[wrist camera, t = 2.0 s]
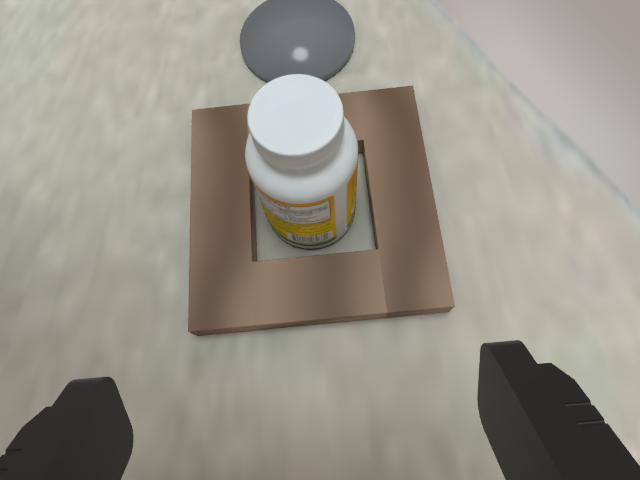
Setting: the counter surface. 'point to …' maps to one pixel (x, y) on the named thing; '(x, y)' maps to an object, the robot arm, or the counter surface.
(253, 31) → the coaster
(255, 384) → the counter surface
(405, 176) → the pocket board
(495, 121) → the counter surface
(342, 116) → the supplement bottle
